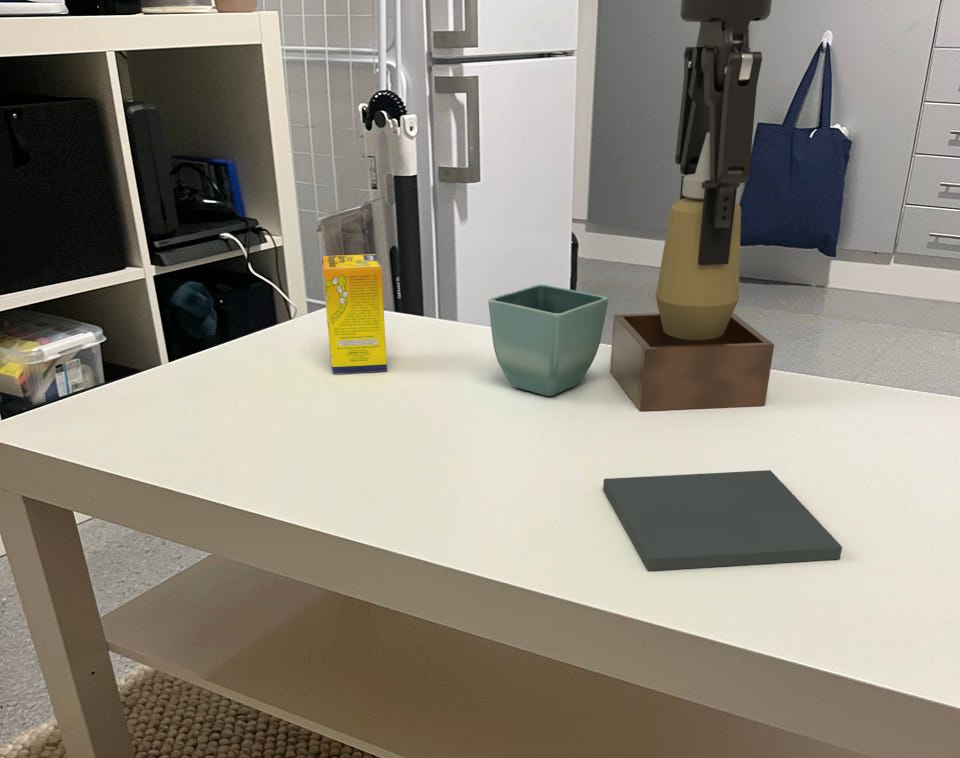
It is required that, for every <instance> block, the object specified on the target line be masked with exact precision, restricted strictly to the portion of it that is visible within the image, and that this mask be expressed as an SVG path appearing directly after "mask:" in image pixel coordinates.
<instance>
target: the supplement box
mask: <svg viewBox="0 0 960 758" xmlns="http://www.w3.org/2000/svg"><path fill="white" fill-rule="evenodd" d="M321 266H322V268H321V269H322V278H323V279H322V280H323V289H324V299H325V302H324V303H325V310H326V311H325V312H326V321H327V334H328V343H329V344H328V345H329V346H328V347H329V356H330V361H331V370H332V371H331V372H332V374H333V375H345V374H346V375H347V374H363V373H365V374H366V373H379V372H387V371H388V361H387V346H386V345H387V344H386V340H387V339H386V326H385V325H386V324H385V311H384V310H385V307H384V305H385V304H384V285H383V267H382V266H381V264H380V261H379V256H378V255H377V254H376V253H368V254H346V255H345V254H344V255H343V254H342V255H341V254H340V255H326V256H325V255H323V256H322V257H321Z"/></svg>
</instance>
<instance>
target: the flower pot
mask: <svg viewBox="0 0 960 758" xmlns="http://www.w3.org/2000/svg"><path fill="white" fill-rule="evenodd" d="M487 302H488V311H489V321H490V330H491V331H490V332H491V338H492V343H493V351H494V354H495V357H496V360H497V362H498V365H499V367H500V369H501V371H502V372H503V373H502V374H503V375H504V376H505V378H506V380H507V381H508V382H509V383H510V385H511V387H514V388H516V389H521V390H524V391H529V392H531V393H535V394H538V395H543V396H546V397H552V396H555V395H558V394H559V393H562V392H563V391H566V390H569V389H571V388H574V387H577V386H578V385H579V384H580V382H581V381H582V379H584V377H585V376H586V374H587V373H588V371H589V369H590V368H591V366H592V364H593V362H594V360H595V358H596V355H597V353H598V351H599V347H600V344H601V340H602V335H603V331H604V330H603V329H604V325H605V320H606V316H607V310H608V304H609V297H608V296H604V295H600V294H594V293H589V292H583V291H579V290H575V289H569V288H564V287H559V286H554V285H549V284H542V283H540V284H535V285H531V286H528V287H524V288H522V289H518V290H515V291H512V292H509V293H505V294H501V295H497V296H493V297H492V298H490V299H488V300H487Z"/></svg>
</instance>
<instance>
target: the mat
mask: <svg viewBox="0 0 960 758" xmlns="http://www.w3.org/2000/svg"><path fill="white" fill-rule="evenodd" d="M602 485H603V486H602V490H603V492H604V494H605V495H606V497H607V499H608V501H609V503H610V505H611V506H612V508H613V510H614V512H615V514H616V515H617V517H618V519H619V522H620V523H621V525H622V526H623V528H624V530H625V532H626V533H627V536H628V537H629V539H630V541H631V542H632V544H633V546H634V548H635V550H636V551H637V553H638V555H639V556H640V559H641V560H642V563H643V564H644V566H645V568H646V570H647V571H648V572H653V571H670V570H685V569H686V570H687V569H703V568H717V567H718V568H719V567H732V566H733V567H735V566H736V567H737V566H750V565H751V566H752V565H768V564H769V565H770V564H781V563H782V564H783V563H797V562H798V563H800V562H814V561H833V560H840V559H841V556H842V551H843V546H842V545H841V543H840V542H839V541H838V540H837V539H835V538H834V536H833V535H832V534H831V533H830V532H829V531H828V530H827V528H825V527H824V526H823V525H822V524H821V523H820V521H819V520H818V519H817V518H816V517H815V516H814V515H813V514H812V513H811V512H810V511H809V510H808V508H807V507H806V506H804V504H803V503H802V502H801V501H800V500H799V499H798V497H796V496H795V495H794V494H793V493H792V491H791V490H790V489H789V488H788V487H787V486H786V485H785V484H784V482H782V481H781V480H780V479H779V477H777V476H776V474H775V473H774V472H773V471H772V470H771V469H768V470H767V469H766V470H765V469H763V470H749V471H748V470H745V471H728V472H727V471H726V472H707V473H706V472H705V473H688V474H670V475H651V476H650V475H649V476H635V477H634V476H632V477H631V476H630V477H629V476H628V477H612V478H604V479H603V484H602Z"/></svg>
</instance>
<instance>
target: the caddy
mask: <svg viewBox="0 0 960 758" xmlns="http://www.w3.org/2000/svg"><path fill="white" fill-rule="evenodd" d="M611 333H612V335H611V347H610V364H609V365H610V366H609V372H610V373H611V375H612V376H613V377H614V379H615V380H616V381H617V383H618V384H619V385H620V387H621V389H623V391H624V392H625V394H626V395H627V396H628V397H629V399H630V400H631V401H632V402H633V404H634V405H635V407H636V408H637V410H638V411H639V412H652V411H674V410H675V411H676V410H677V411H678V410H696V409H717V408H718V409H720V408H740V407H761V406H762V407H763V406H764V407H765V406H766V401H767V394H768V388H769V382H770V377H771V376H770V375H771V369H772V361H773V356H774V349H775V344H774V342H772V341H770V340H769V339H768V338H766V337H765V336H764V335H763V334H761V332H759V331H758V330H756V329H755V328H754V327H752V326H751V325H750V324H749V323H748V322H746V321H745V320H744V319H742V317H739V316H738V314H736V313H734V312H733V313H732V316H731V318H730V320H729V322H728V325H727V327H726V329H725V331H724V334H723V335H721V336H720V337H717V338H713V339H706V340H687V339H681V338H676V337H673V336H670V335H667V334H666V333H665V332H664V330H663V326H662V322H661V317H660V313H659V312H653V313H652V312H651V313H647V312H646V313H624V314H623V313H622V314H619V313H618V314H613V319H612V332H611Z"/></svg>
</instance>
